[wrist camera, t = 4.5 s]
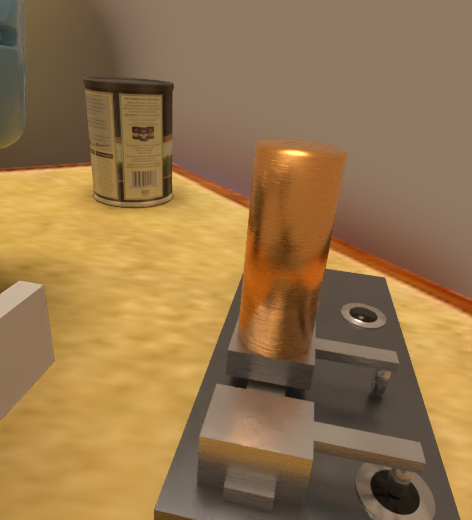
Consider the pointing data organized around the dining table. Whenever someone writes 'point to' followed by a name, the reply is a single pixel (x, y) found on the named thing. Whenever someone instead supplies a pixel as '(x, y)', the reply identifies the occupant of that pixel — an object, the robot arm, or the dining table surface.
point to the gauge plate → (328, 408)
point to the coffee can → (130, 140)
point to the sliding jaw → (292, 269)
